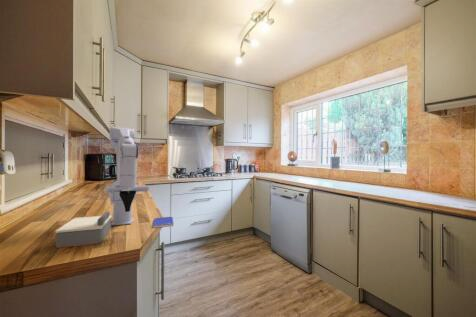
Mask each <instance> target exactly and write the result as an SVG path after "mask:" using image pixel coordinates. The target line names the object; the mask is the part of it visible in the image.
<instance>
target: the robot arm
mask: <svg viewBox="0 0 476 317" xmlns="http://www.w3.org/2000/svg"><path fill="white" fill-rule="evenodd" d="M134 140H135V130H134V128H133V127H121V126H120V127H119V126H112V125H111V126H110V127H109V144H110V146H111V147H112V148H114V151H115V154H116V158H115V159H116V181H114V182H112V183H111V184H110V186H108V187H107V186H106V187H105V194H109V202H111V203H112V204H113V205H112V206H113V207H112V209H113V211H112V221H111V226H120V225H131V224H132V223H133V221H134V219H135V218H134V217H132V216H133V214H132V213H133V211H132V210H133V205H132V204H133V201H135V199H136V198H137V197H136V196H137V192H150V190H149V189H150V186H149V185H137V179H138V178H137V176H138V175H137V172H138V170H137V166H138V165H137V164H138V162H137V161H138V158H139V154H140V152H139V150H140V149H139V144H138V143H135V141H134Z"/></svg>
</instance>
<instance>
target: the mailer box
mask: <svg viewBox="0 0 476 317" xmlns="http://www.w3.org/2000/svg"><path fill="white" fill-rule="evenodd" d="M111 223H112V217H111V218H110V219H109V220H108V222H107V223H106V224H105V225H104V226H103V228H102V229H94V230H83V231H72V232H61V233H55V234H56V235H55V238H56V239H55V248H56V249H58V248H59V249H60V248H69V247H78V246H87V245H88V246H89V245H96V244H97V245H98V244H102V242H103V241H104V239H105V238H106V237H107V235H108V234H109V232H110V231H111V229H112V225H111Z"/></svg>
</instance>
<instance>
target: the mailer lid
mask: <svg viewBox="0 0 476 317" xmlns="http://www.w3.org/2000/svg"><path fill="white" fill-rule="evenodd" d="M110 218H111V219H112V218H113V214H110V211H105V212H104V213H103V214H102V215H97V216H96V215H95V216H93V215H92V216H82V217H81V216H79V217H73V218H72V219H71V220H69V221H68V222H66V223H65V224H64V225H62V226H60V227H59V228H58V229H56V230H55V231H54V232H55V234H57V233H61V232H72V231H83V230H94V229H102V228H103V226H104V225H105V224H106V223H107V222H108V220H109V219H110Z"/></svg>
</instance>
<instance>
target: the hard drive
mask: <svg viewBox="0 0 476 317" xmlns="http://www.w3.org/2000/svg"><path fill="white" fill-rule="evenodd" d="M173 218H174V217H173V216H164V217H154V219H153V224H152V229H156V228H157V229H158V228H167V227H168V228H169V227H174V224H175V223H174V219H173Z"/></svg>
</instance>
